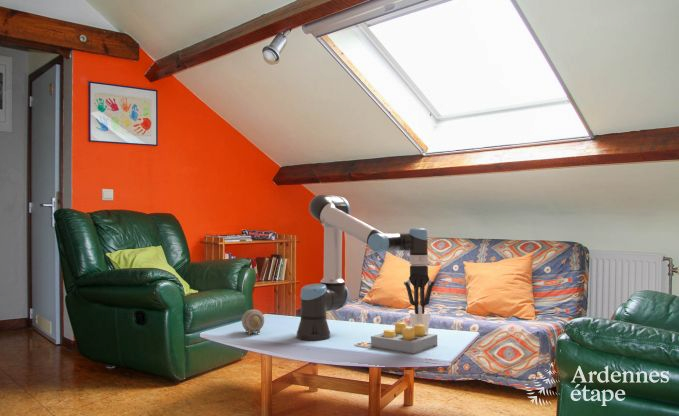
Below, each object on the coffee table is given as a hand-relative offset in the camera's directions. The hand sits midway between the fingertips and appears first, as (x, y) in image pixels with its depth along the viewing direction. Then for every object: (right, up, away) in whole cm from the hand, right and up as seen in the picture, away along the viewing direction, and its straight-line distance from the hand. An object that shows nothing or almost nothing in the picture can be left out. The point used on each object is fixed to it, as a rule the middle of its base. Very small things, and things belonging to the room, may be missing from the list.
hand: (419, 321), depth 218 cm
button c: (-7, -7, +5) cm, 11 cm away
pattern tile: (-23, -10, 0) cm, 25 cm away
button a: (-13, -9, -2) cm, 15 cm away
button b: (-6, -6, -7) cm, 11 cm away
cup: (+3, -11, +18) cm, 21 cm away
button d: (0, -7, 0) cm, 7 cm away
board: (-6, -10, -1) cm, 12 cm away
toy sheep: (-74, -11, +27) cm, 79 cm away
